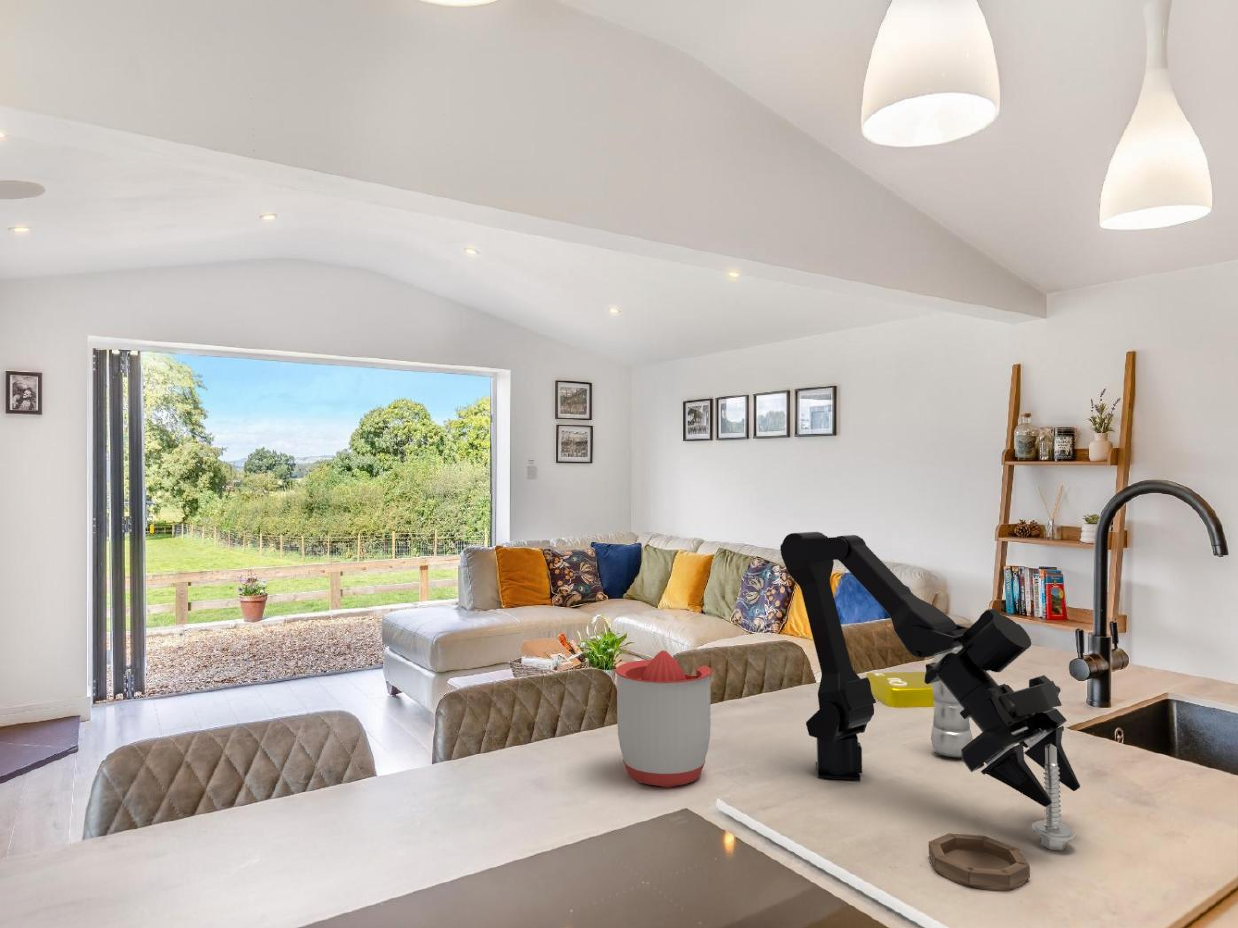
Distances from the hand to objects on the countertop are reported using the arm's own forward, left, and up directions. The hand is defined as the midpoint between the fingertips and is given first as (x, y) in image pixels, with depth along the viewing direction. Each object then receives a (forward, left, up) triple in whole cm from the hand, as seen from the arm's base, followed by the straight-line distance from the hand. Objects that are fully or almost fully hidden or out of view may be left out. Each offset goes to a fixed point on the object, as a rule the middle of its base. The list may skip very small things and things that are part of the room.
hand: (1063, 796), depth 100 cm
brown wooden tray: (-12, -7, -7) cm, 15 cm away
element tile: (-7, +73, -7) cm, 74 cm away
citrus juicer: (-53, +18, -7) cm, 56 cm away
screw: (-1, +1, -7) cm, 7 cm away
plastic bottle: (-6, +35, -7) cm, 36 cm away
